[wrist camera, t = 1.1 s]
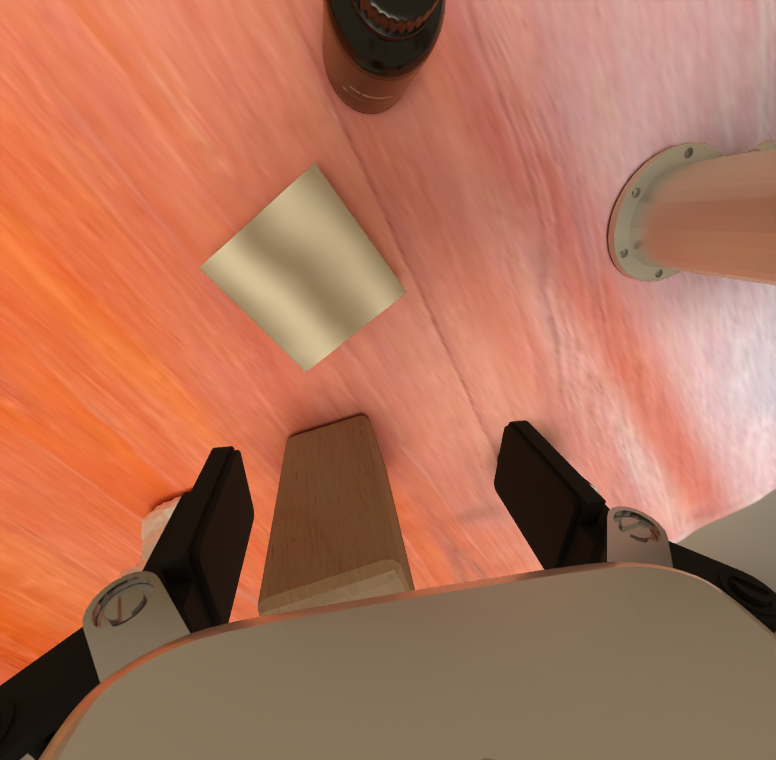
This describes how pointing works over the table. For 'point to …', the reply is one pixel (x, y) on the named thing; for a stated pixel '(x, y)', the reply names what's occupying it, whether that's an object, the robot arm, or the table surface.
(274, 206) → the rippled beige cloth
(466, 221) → the table surface
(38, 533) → the table surface
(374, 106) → the supplement bottle
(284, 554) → the block
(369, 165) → the table surface
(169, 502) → the seated beast figurine
